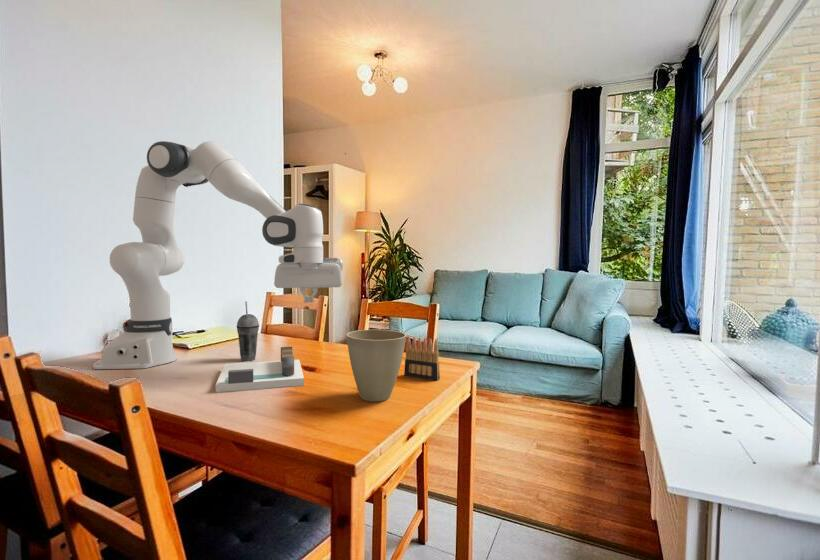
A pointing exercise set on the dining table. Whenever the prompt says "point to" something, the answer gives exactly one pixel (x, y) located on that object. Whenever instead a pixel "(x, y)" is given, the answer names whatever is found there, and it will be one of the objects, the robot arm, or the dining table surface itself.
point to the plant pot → (375, 361)
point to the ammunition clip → (422, 360)
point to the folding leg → (287, 361)
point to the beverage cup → (247, 336)
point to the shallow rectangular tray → (257, 376)
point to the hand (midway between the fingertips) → (308, 302)
